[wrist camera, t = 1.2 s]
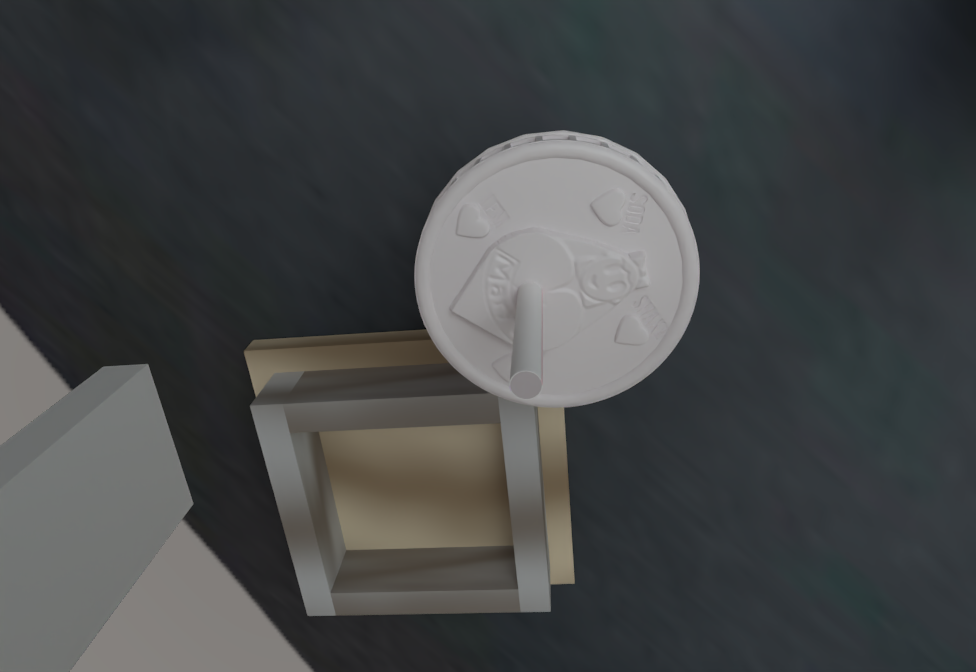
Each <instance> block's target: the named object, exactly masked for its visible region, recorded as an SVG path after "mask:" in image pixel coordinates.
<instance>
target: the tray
mask: <svg viewBox="0 0 976 672" xmlns="http://www.w3.org/2000/svg"><path fill="white" fill-rule="evenodd" d="M244 354H245V358H246V362H247V365H248V369H249V373H250V377H251V380H252V384H253V388H254V391H255V395H256V398H255V400H254V401H253V402H252V403H251V405H250V408H251V412H252V416H253V419H254V423H255V426H256V430H257V434H258V437H259V441H260V445H261V448H262V452H263V455H264V459H265V463H266V466H267V470H268V474H269V477H270V481H271V485H272V488H273V492H274V495H275V499H276V503H277V506H278V510H279V514H280V517H281V521H282V524H283V528H284V532H285V535H286V539H287V543H288V546H289V550H290V554H291V557H292V561H293V564H294V568H295V572H296V575H297V579H298V583H299V586H300V590H301V594H302V597H303V601H304V604H305V608H306V612H307V615H308V616H334V615H390V614H446V613H502V612H551V588H550V584H575V581H574V563H573V547H572V531H571V515H570V498H569V482H568V466H567V450H566V433H565V417H564V407H562V408H548V407H536V406H529V405H524V404H520V403H516V402H512V401H509V400H506V399H503V398H501V397H498V396H496V395H493V394H491V393H489V392H487V391H485V390H483V389H482V388H480V387H478V386H477V385H475V384H474V383H472V382H471V381H469V380H468V379H467V378H465V377H464V376H463V375H461V374H460V373H459V372H458V371H457V370H456V369H455V368H454V367H453V366H452V365H451V364H450V363H449V362H448V361H447V360H446V359H445V358H444V356H443V355H442V354H441V352H440V351H439V350H438V348H437V347H436V345H435V344H434V342H433V341H432V339H431V337H430V335H429V333H428V331H427V329H424V330H408V331H392V332H376V333H360V334H344V335H327V336H311V337H295V338H279V339H263V340H253V341H252V342H251V343H250V345H249V346H248V347H247V348H246V349H245V350H244Z"/></svg>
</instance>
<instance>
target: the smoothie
mask: <svg viewBox="0 0 976 672" xmlns="http://www.w3.org/2000/svg"><path fill="white" fill-rule="evenodd" d="M699 274H700V267H699V255H698V249H697V244H696V240H695V237H694V233H693V230H692V227H691V225H690V223H689V220H688V217H687V213H686V210H685V208H684V206H683V205H682V203H681V202H680V200H679V198H678V197H677V195H676V194H675V192H674V191H673V189H672V187H671V186H670V184H669V183H668V181H667V179H666V178H665V177H664V176H663V175H662V174H660V173H659V172H658V171H657V170H656V169H655V168H654V167H652V166H651V165H650V164H649V163H648V162H647V161H646V160H644V159H643V158H642V157H641V156H640V155H639V154H638V153H636V152H634V151H632V150H629V149H627V148H625V147H623V146H621V145H619V144H617V143H615V142H612V141H610V140H608V139H606V138H604V137H601V136H595V135H589V134H583V133H577V132H571V131H565V130H561V131H551V132H542V133H532V134H524V135H521V136H519V137H516V138H514V139H511V140H508V141H506V142H503V143H501V144H498V145H496V146H493V147H490V148H488V149H487V150H485V151H484V152H482V153H481V154H480V155H478V156H477V157H476V158H474V159H473V160H472V161H470V162H469V163H468V164H466V165H465V166H464V167H462V168H461V169H460V170H458V171H457V172H456V174H455V175H454V176H453V177H452V179H451V180H450V181H449V183H448V184H447V185H446V186H445V188H444V189H443V190H442V192H441V193H440V194H439V195H438V197H437V198H436V199H435V201H434V203H433V206H432V208H431V211H430V213H429V216H428V218H427V221H426V223H425V225H424V228H423V230H422V233H421V237H420V241H419V245H418V248H417V254H416V260H415V274H414V276H415V291H416V298H417V303H418V307H419V311H420V314H421V317H422V320H423V322H424V325H425V327H426V329H427V331H428V333H429V335H430V337H431V339H432V341H433V342H434V344H435V345H436V347H437V348H438V350H439V351H440V352H441V354H442V355H443V356H444V358H445V359H446V360H447V361H448V362H449V363H450V364H451V365H452V366H453V367H454V368H455V369H456V370H457V371H458V372H459V373H460V374H461V375H463V376H464V377H465V378H467V379H468V380H469V381H471V382H472V383H474V384H475V385H477V386H478V387H480V388H482V389H483V390H485V391H487V392H489V393H491V394H493V395H496V396H498V397H501V398H503V399H506V400H509V401H512V402H516V403H520V404H524V405H529V406H536V407H548V408H562V407H574V406H581V405H586V404H590V403H595V402H598V401H601V400H604V399H607V398H610V397H612V396H614V395H617V394H619V393H621V392H623V391H625V390H627V389H629V388H631V387H632V386H634V385H635V384H637V383H639V382H640V381H642V380H643V379H644V378H645V377H647V376H648V375H649V374H651V373H652V372H653V371H654V370H655V369H656V368H657V367H658V366H659V365H661V364H662V362H663V361H664V360H665V359H666V358H667V357H668V356H669V355H670V353H671V352H672V351H673V349H674V348H675V347H676V345H677V344H678V342H679V341H680V339H681V337H682V336H683V334H684V332H685V330H686V328H687V326H688V324H689V322H690V319H691V316H692V313H693V311H694V308H695V303H696V299H697V295H698V288H699Z"/></svg>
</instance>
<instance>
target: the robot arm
mask: <svg viewBox="0 0 976 672" xmlns="http://www.w3.org/2000/svg"><path fill="white" fill-rule="evenodd" d="M192 505H193V501H192V498H191V495H190V492H189V489H188V485H187V482H186V479H185V476H184V473H183V470H182V467H181V464H180V461H179V458H178V455H177V452H176V449H175V446H174V442H173V439H172V436H171V433H170V430H169V427H168V424H167V421H166V418H165V415H164V412H163V409H162V406H161V402H160V399H159V396H158V393H157V390H156V387H155V384H154V381H153V378H152V375H151V372H150V369H149V366H148V364H139V365H122V366H106V367H102V368H101V369H100V370H99V371H97V372H96V373H95V374H93V375H92V376H91V377H89V378H88V379H87V380H85V381H84V382H83V383H82V384H80V385H79V386H78V387H76V388H75V389H74V390H72V391H71V392H70V393H68V394H67V395H66V396H65V397H63V398H62V399H61V400H59V401H58V402H57V403H56V404H54V405H53V406H51V407H50V408H49V409H48V410H46V411H45V412H44V413H42V414H41V415H40V416H38V417H37V418H36V419H35V420H33V421H32V422H31V423H29V424H28V425H27V426H25V427H24V428H23V429H21V430H20V431H19V432H18V433H16V434H15V435H14V436H12V437H11V438H10V439H8V440H7V441H6V442H5V443H3V444H2V445H1V446H0V672H70V670H71V669H72V668H73V666H74V665H75V664H76V662H77V661H78V660H79V658H80V657H81V656H82V654H83V653H84V651H85V650H86V649H87V647H88V646H89V645H90V643H91V642H92V641H93V639H94V638H95V636H96V635H97V633H98V632H99V631H100V630H101V628H102V627H103V626H104V624H105V623H106V622H107V620H108V619H109V618H110V616H111V615H112V614H113V612H114V611H115V609H116V608H117V607H118V605H119V604H120V603H121V601H122V599H124V597H125V596H126V595H127V593H128V592H129V590H130V589H131V588H132V586H133V585H134V584H135V582H136V581H137V579H138V578H139V577H140V575H141V574H142V573H143V571H144V570H145V568H146V567H147V566H148V565H149V563H150V562H151V561H152V559H153V558H154V557H155V555H156V554H157V552H158V551H159V550H160V548H161V547H162V546H163V544H164V543H165V542H166V540H167V539H168V538H169V536H170V535H171V534H172V532H173V531H174V529H175V528H176V526H177V525H178V524H179V523H180V521H181V520H182V519H183V517H184V516H185V515H186V513H187V512H188V510H189V509H190V508H191V506H192Z"/></svg>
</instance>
